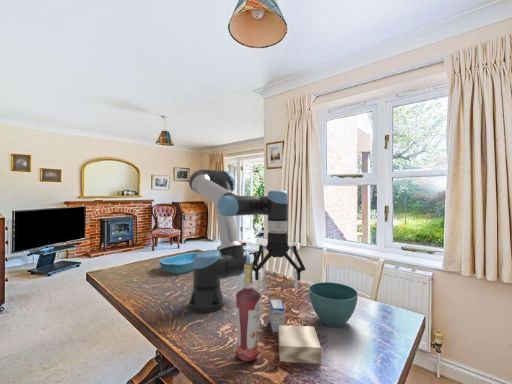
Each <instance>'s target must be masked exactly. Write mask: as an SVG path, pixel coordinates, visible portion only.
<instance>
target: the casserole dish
mask: <svg viewBox="0 0 512 384" xmlns="http://www.w3.org/2000/svg"><path fill="white" fill-rule="evenodd" d="M198 253H199V252H187V253H182V254H177V255H173V256H169V257H165V258H161V259H159V266H160V268H161V269H162V271H164V272H167V273H171V274H175V275H176V274H177V275H182V274H185V273H188V272H192V271H193V264H194V257H195V255H197V254H198Z"/></svg>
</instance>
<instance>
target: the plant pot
mask: <svg viewBox="0 0 512 384" xmlns="http://www.w3.org/2000/svg"><path fill="white" fill-rule="evenodd" d="M308 294H309V299H310V304H311V306H312V309H313V311H314V313H315V314H316V316H317V317H318V319H319V320H320V321H321V322H322V323H323V324H324V325H326V326H328V327H334V328H338V327H339V328H340V327H342V326H344V325H345V324H346V323H347V322H348V321H349V320H350V319H351V317H352V316H353V315H354V311H356V306H357V302H358V299H359V298H358V297H359V296H358V295H359V293H358V291H357V290H356V289H355V288H353V287H351V286H348V285H347V284H343V283H338V282H331V281H330V282H329V281H326V282H316V283H312V284H311V285H309V286H308Z"/></svg>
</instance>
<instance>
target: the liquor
mask: <svg viewBox="0 0 512 384" xmlns="http://www.w3.org/2000/svg"><path fill="white" fill-rule="evenodd" d="M252 263H253V262H252ZM252 263H251V262H250V263H245V264H244V272H245V274H244V281H243V288H242V289H240V290H239V291H237V292H236V294H235V299H236V300H235V302H236V303H235V304H236V306H235V307H236V308H235V309H236V326H237V327H236V329H237V331H236V332H237V333H236V334H237V350H236V352H235V355H236V356H237V358H238V359H240V360H241V361H242V362H244V361H247V362H246V363H249V362H248V361H251V362H253V361H254V360H255V359H257V358H258V357H259V355H260V352H259V349H258V347H259V346H258V345H259V344H258V342H259V340H258V339H259V338H258V337H259V324H260V323H259V320H260V310H261V309H260V308H261V306H260V305H261V294H260V292H259V290H256V289H254V281H253V272H254V270H253V264H252ZM252 360H253V361H252Z"/></svg>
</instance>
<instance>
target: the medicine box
mask: <svg viewBox="0 0 512 384" xmlns="http://www.w3.org/2000/svg"><path fill="white" fill-rule="evenodd" d="M285 311H286V310H285V307H284V305H283V302H282V300H281V299H269V324H270V325H269V326H270V328H271V332H272V333H279V325H285V315H286V314H285Z"/></svg>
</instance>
